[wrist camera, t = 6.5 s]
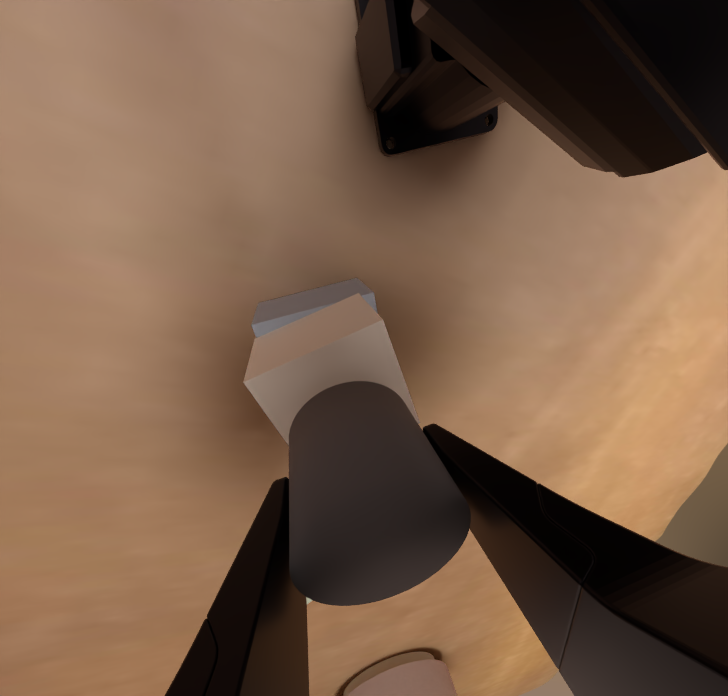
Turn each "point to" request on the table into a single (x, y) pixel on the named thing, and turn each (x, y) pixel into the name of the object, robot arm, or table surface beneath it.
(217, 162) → the table surface
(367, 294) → the tower base
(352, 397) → the dark grey cylinder
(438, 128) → the robot arm
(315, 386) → the tower top
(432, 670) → the container
